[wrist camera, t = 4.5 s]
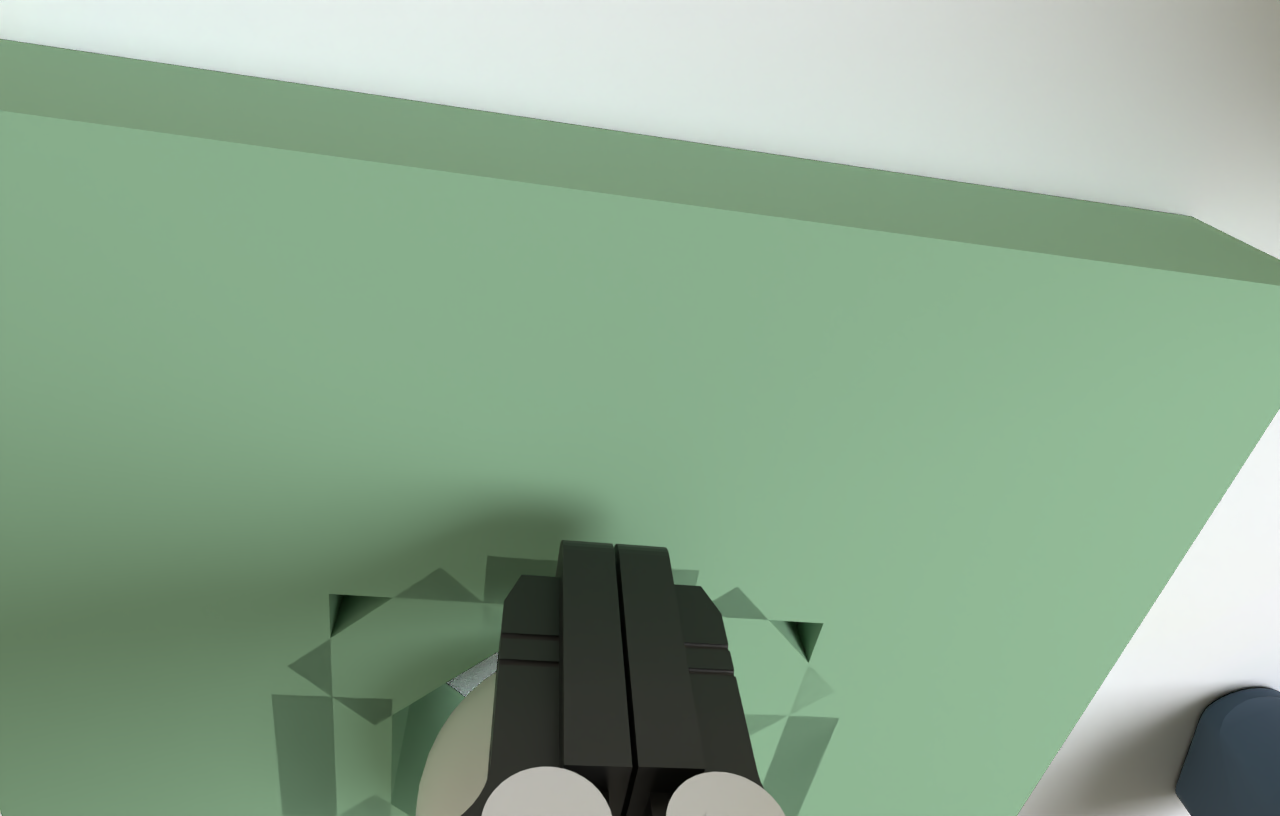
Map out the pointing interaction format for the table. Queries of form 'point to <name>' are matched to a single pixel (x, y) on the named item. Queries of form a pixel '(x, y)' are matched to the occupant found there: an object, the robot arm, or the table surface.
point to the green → (568, 436)
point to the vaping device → (1235, 757)
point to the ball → (459, 756)
